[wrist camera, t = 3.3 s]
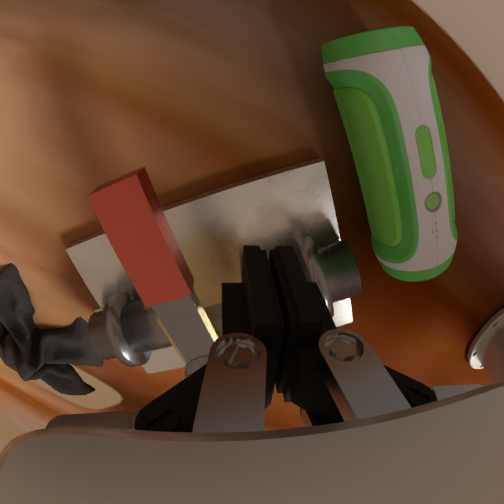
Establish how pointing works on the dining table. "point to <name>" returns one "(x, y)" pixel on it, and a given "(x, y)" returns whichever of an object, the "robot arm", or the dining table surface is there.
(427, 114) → the speaker
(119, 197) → the lever
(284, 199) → the valve pipe
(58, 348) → the cloth
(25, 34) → the dining table surface
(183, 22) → the dining table surface
